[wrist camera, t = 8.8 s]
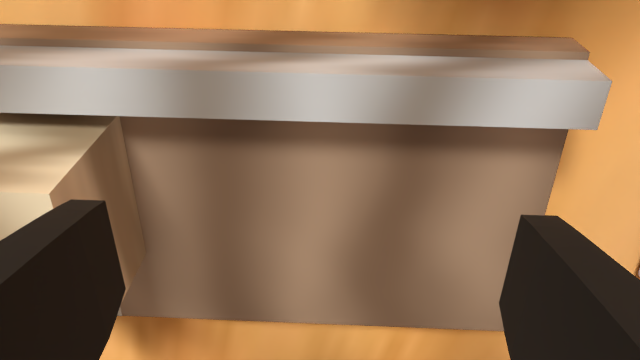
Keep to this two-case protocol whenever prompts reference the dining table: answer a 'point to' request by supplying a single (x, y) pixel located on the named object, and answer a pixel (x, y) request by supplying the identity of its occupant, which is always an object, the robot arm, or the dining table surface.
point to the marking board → (319, 161)
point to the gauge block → (69, 175)
